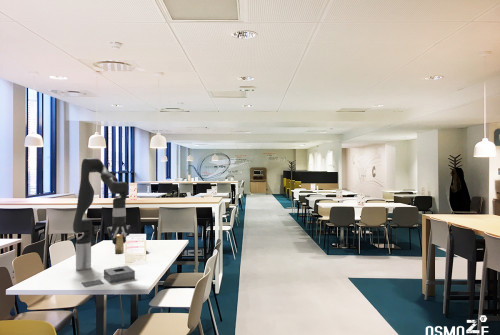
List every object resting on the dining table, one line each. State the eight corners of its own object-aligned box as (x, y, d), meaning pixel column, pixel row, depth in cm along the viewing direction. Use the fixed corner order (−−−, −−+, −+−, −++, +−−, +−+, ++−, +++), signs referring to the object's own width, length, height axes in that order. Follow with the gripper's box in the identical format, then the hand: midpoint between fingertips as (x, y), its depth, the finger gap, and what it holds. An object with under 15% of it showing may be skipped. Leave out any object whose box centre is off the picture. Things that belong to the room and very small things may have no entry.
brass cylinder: (114, 253, 215) (113, 234, 215) (122, 251, 218) (121, 233, 217) (116, 254, 211) (116, 236, 211) (124, 253, 214) (124, 235, 214)
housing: (103, 277, 216) (103, 269, 216) (127, 273, 224) (127, 265, 224) (110, 283, 204) (110, 275, 204) (134, 279, 213) (134, 270, 213)
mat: (81, 283, 206) (81, 282, 206) (99, 279, 211) (99, 279, 211) (85, 288, 198) (85, 287, 198) (104, 284, 203) (104, 283, 203)
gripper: (129, 213, 221) (129, 241, 221) (105, 215, 213) (105, 244, 213) (133, 215, 215) (133, 243, 215) (108, 217, 207) (108, 246, 207)
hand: (119, 243), depth 214 cm, fingers closed on brass cylinder, 5 cm apart
